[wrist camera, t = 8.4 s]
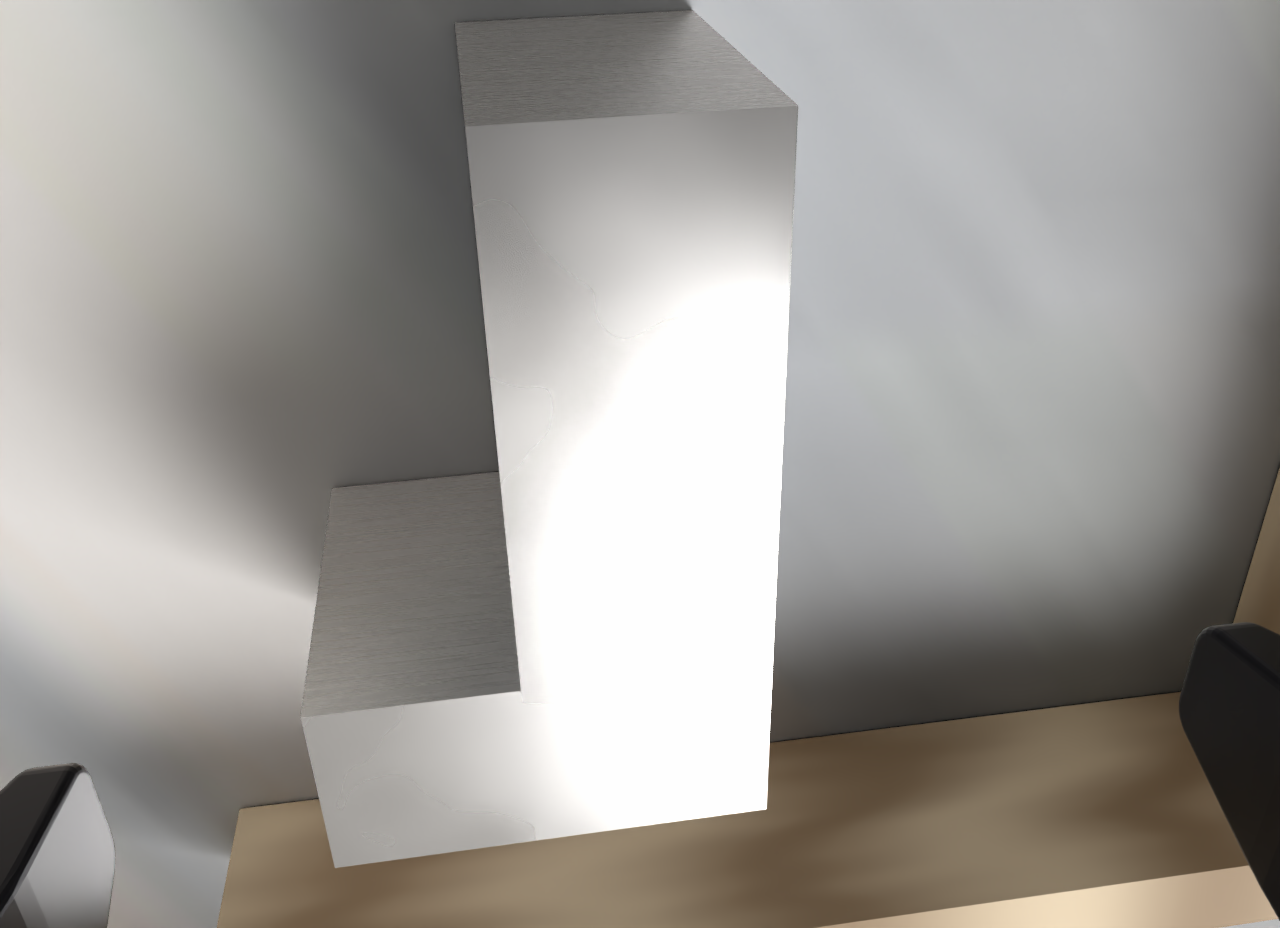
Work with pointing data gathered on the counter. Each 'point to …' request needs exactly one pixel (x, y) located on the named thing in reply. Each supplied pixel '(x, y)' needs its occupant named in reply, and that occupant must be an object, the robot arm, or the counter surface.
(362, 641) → the bracket
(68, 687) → the counter surface
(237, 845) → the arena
